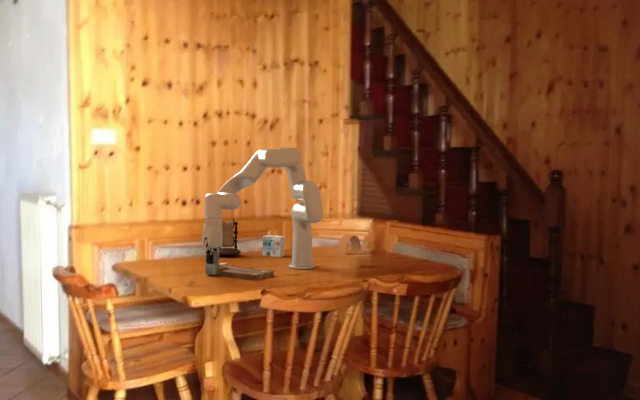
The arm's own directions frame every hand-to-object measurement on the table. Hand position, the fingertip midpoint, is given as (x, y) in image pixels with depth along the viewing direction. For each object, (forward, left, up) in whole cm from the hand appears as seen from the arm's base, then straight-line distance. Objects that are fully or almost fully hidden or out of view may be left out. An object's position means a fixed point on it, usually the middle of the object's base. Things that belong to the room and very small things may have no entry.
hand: (212, 262), depth 293 cm
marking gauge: (-5, 0, -5) cm, 7 cm away
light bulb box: (-68, -8, -6) cm, 69 cm away
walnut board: (-9, +9, -6) cm, 14 cm away
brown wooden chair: (-53, -28, -6) cm, 60 cm away
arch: (-106, +19, -6) cm, 108 cm away
